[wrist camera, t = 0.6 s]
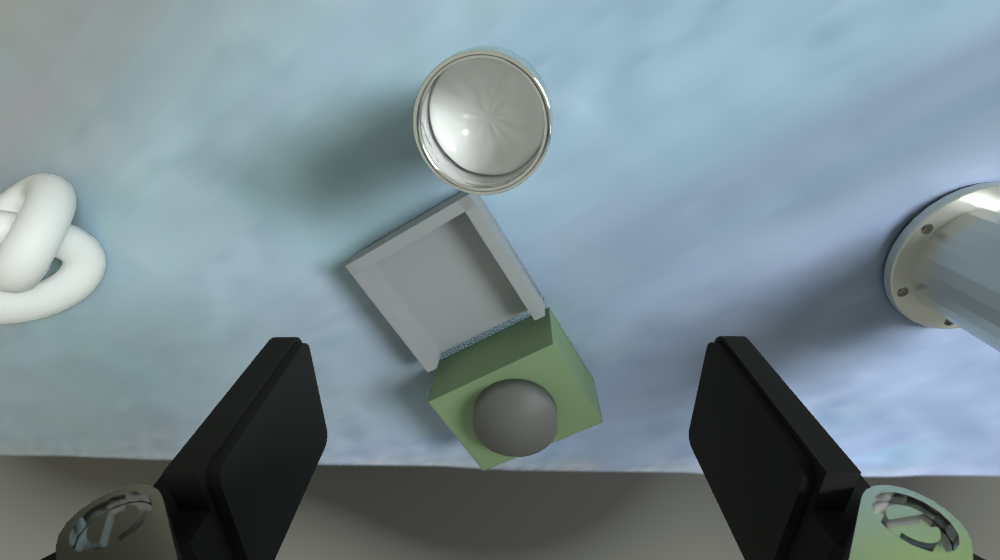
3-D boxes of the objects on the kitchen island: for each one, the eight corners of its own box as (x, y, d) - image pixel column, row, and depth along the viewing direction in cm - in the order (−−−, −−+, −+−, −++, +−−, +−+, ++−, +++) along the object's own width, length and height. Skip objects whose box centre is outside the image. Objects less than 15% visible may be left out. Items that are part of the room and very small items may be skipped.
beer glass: (489, 165, 38) (471, 226, 25) (432, 90, 36) (377, 112, 22) (562, 108, 36) (586, 141, 22) (505, 26, 34) (494, 6, 20)
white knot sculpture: (153, 289, 44) (70, 342, 36) (32, 294, 45) (-76, 346, 37) (103, 166, 40) (-5, 195, 31) (-32, 174, 40) (-172, 204, 32)
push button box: (472, 184, 39) (462, 212, 32) (593, 379, 46) (605, 435, 39) (356, 252, 42) (323, 291, 35) (487, 425, 49) (481, 484, 42)
